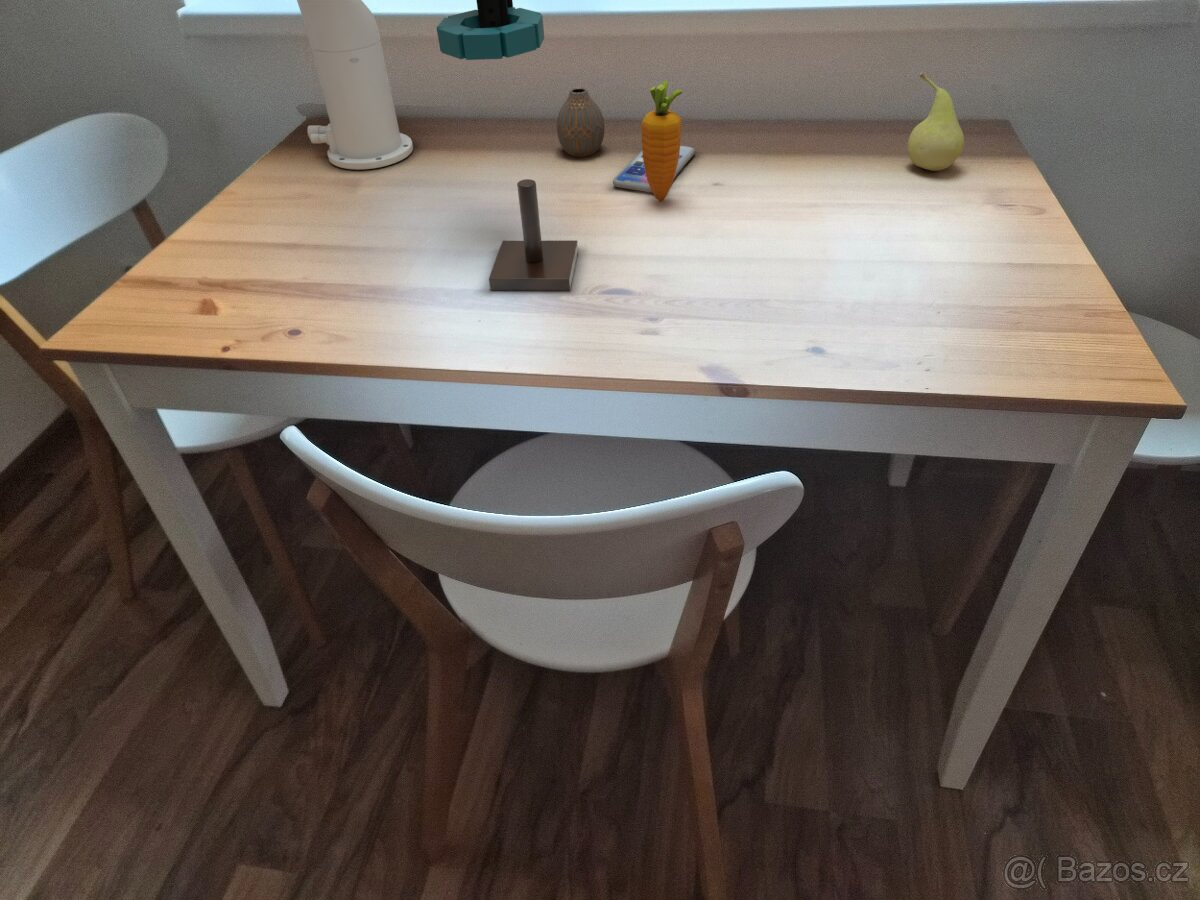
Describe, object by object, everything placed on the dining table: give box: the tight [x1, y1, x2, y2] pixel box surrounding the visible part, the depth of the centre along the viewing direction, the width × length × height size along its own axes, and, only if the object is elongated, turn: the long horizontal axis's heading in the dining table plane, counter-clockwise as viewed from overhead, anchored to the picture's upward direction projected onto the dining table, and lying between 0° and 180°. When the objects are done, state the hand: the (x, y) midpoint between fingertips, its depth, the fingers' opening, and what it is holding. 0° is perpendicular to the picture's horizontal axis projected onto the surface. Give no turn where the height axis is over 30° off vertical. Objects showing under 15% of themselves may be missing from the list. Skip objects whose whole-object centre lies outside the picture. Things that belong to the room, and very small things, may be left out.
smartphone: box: [612, 144, 696, 194], centre depth 113 cm, size 7×1×15 cm
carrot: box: [640, 80, 683, 203], centre depth 100 cm, size 5×5×15 cm
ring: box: [436, 6, 545, 61], centre depth 87 cm, size 11×11×2 cm
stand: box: [488, 178, 579, 292], centre depth 90 cm, size 9×9×10 cm
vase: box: [556, 87, 605, 158], centre depth 116 cm, size 7×7×9 cm
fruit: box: [906, 71, 965, 172], centre depth 106 cm, size 7×8×12 cm
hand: (498, 32), depth 90 cm, fingers closed on ring, 2 cm apart
